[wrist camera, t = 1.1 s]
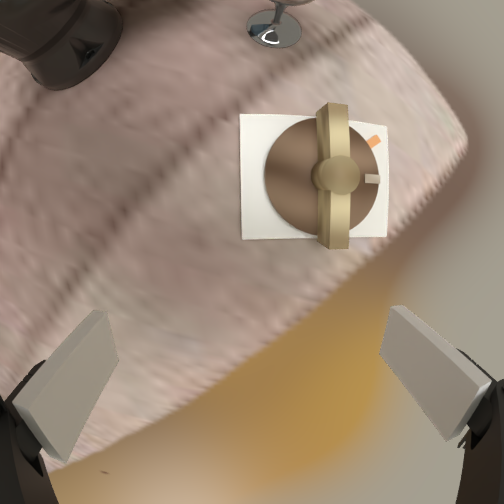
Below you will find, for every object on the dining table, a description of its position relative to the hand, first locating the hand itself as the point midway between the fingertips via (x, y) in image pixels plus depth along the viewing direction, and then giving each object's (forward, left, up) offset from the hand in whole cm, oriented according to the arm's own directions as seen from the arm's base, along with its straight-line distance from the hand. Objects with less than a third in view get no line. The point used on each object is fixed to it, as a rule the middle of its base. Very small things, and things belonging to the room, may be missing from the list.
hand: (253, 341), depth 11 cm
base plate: (-8, +9, -21) cm, 24 cm away
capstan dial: (-8, +9, -19) cm, 23 cm away
